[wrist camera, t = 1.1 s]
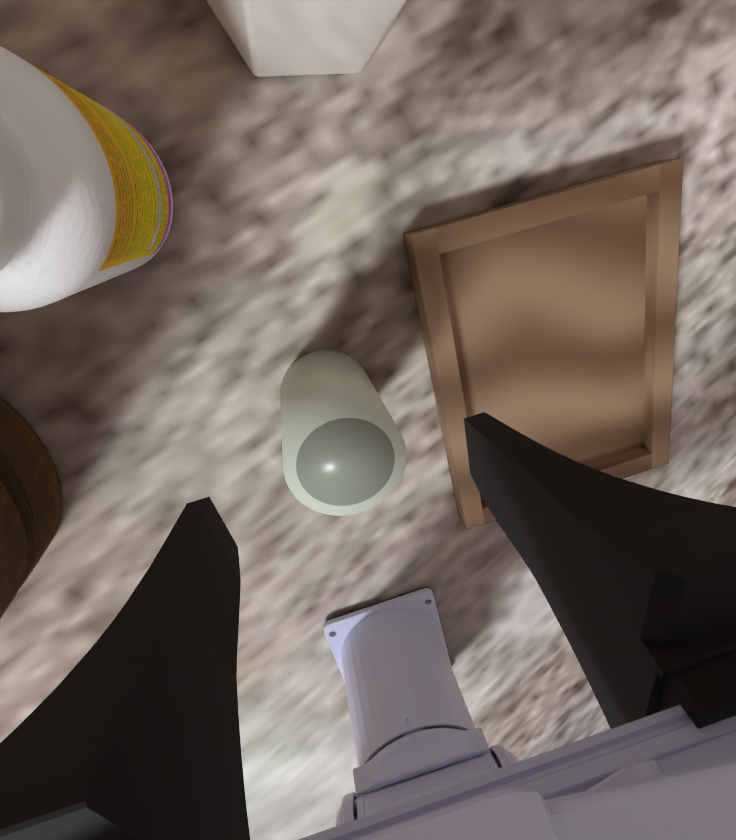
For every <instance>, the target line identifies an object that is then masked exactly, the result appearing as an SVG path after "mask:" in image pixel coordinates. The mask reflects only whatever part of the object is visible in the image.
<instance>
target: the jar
mask: <svg viewBox="0 0 736 840" xmlns="http://www.w3.org/2000/svg"><path fill="white" fill-rule="evenodd" d="M206 1H207V2H208V4H209V5H210V7H211V8H212V10H213V12H214V13H215V15H216V16H217V18H218V19H219V21H220V23H221V24H222V26H223V27H224V29H225V30H226V32H227V34H228V35H229V37H230V38H231V40H232V41H233V43H234V45H235V46H236V48H237V49H238V51H239V53H240V54H241V56H242V57H243V59H244V60H245V62H246V64H247V65H248V67H249V68H250V70H251V71H252V73H253V74H254V75H255V76H258V77H268V76H293V75H319V74H348V73H360V72H362V70H363V69H364V67H365V66H366V64H367V63H368V61H369V60H370V58H371V56H372V55H373V53H374V52H375V50H376V49H377V47H378V45H379V44H380V42H381V41H382V39H383V38H384V36H385V34H386V33H387V31H388V30H389V28H390V27H391V25H392V23H393V22H394V20H395V19H396V17H397V16H398V14H399V12H400V11H401V9H402V8H403V6H404V5H405V3H406V1H407V0H206Z"/></svg>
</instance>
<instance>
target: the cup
mask: <svg viewBox="0 0 736 840" xmlns="http://www.w3.org/2000/svg"><path fill="white" fill-rule="evenodd" d="M280 401H281V426H282V452H283V471H284V477H285V480H286V483H287V485H288V487H289V489H290V491H291V492H292V493H293V495H294V496H295V497H296V498H297V499H298V500H299V501H300V502H301V503H302V504H304V505H305V506H307V507H308V508H310V509H312V510H315V511H317V512H320V513H323V514H328V515H337V516H342V515H352V514H357V513H360V512H363V511H366V510H369V509H371V508H373V507H375V506H376V505H378V504H379V503H381V502H382V501H384V500H385V499H386V498H387V497H388V496H389V495H390V494H391V493H392V492H393V491H394V490H395V488H396V487H397V485H398V484H399V482H400V480H401V478H402V476H403V474H404V470H405V466H406V459H407V457H406V446H405V443H404V440H403V437H402V435H401V433H400V431H399V429H398V428H397V426H396V424H395V423H394V421H393V419H392V417H391V416H390V414H389V412H388V410H387V409H386V407H385V405H384V403H383V402H382V400H381V398H380V396H379V395H378V393H377V391H376V389H375V388H374V386H373V384H372V382H371V381H370V379H369V377H368V375H367V374H366V372H365V370H364V369H363V367H362V366H361V365H360V364H359V363H358V362H357V361H356V360H355V359H354V358H352V357H350V356H349V355H347V354H345V353H342V352H339V351H334V350H319V351H315V352H311V353H309V354H306V355H304V356H302V357H301V358H299V359H298V360H297V361H295V362H294V363H293V364H292V365H291V367H290V368H289V369H288V370H287V372H286V374H285V376H284V378H283V380H282V384H281V390H280Z"/></svg>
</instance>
